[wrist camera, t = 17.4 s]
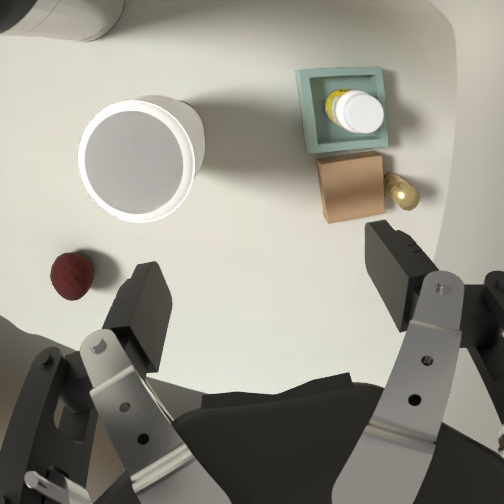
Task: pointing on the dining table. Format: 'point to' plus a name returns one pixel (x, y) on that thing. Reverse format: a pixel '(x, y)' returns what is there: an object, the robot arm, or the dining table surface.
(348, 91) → the supplement bottle
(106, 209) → the jar
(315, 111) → the tray
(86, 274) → the potato
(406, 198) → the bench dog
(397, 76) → the dining table surface
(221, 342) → the dining table surface
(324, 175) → the brown wooden square block
